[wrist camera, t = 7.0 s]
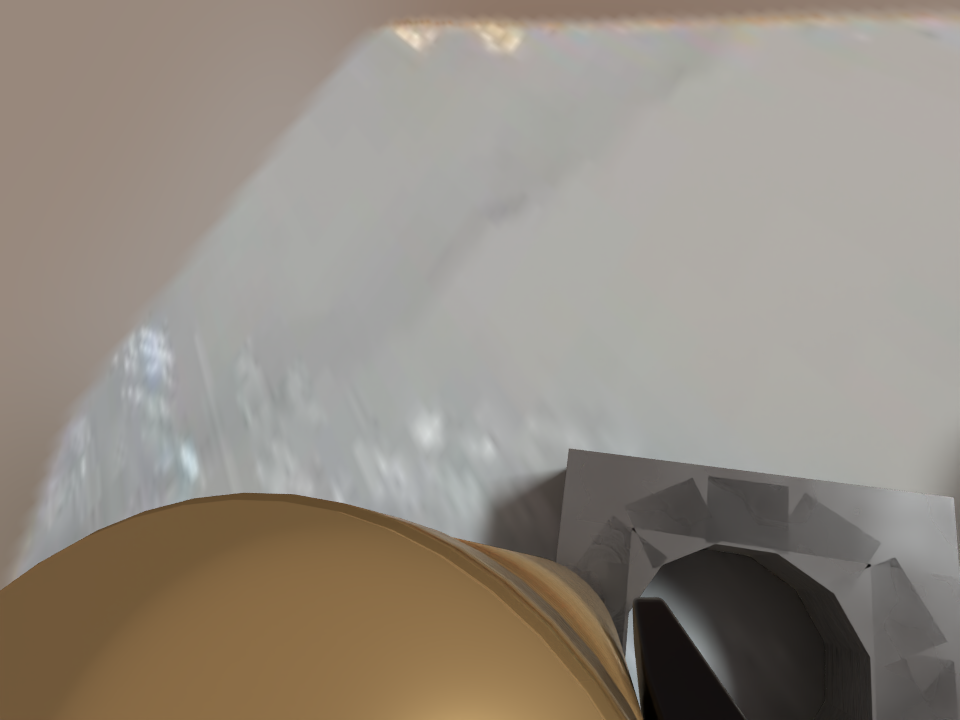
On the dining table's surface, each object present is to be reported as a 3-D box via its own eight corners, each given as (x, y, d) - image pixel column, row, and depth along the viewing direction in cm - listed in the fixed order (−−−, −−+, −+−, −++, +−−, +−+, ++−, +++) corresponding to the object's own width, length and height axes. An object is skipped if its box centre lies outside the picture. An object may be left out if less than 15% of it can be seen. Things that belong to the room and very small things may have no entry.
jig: (916, 900, 17) (993, 979, 14) (535, 798, 19) (522, 845, 16) (896, 508, 20) (953, 497, 17) (573, 465, 23) (568, 448, 19)
